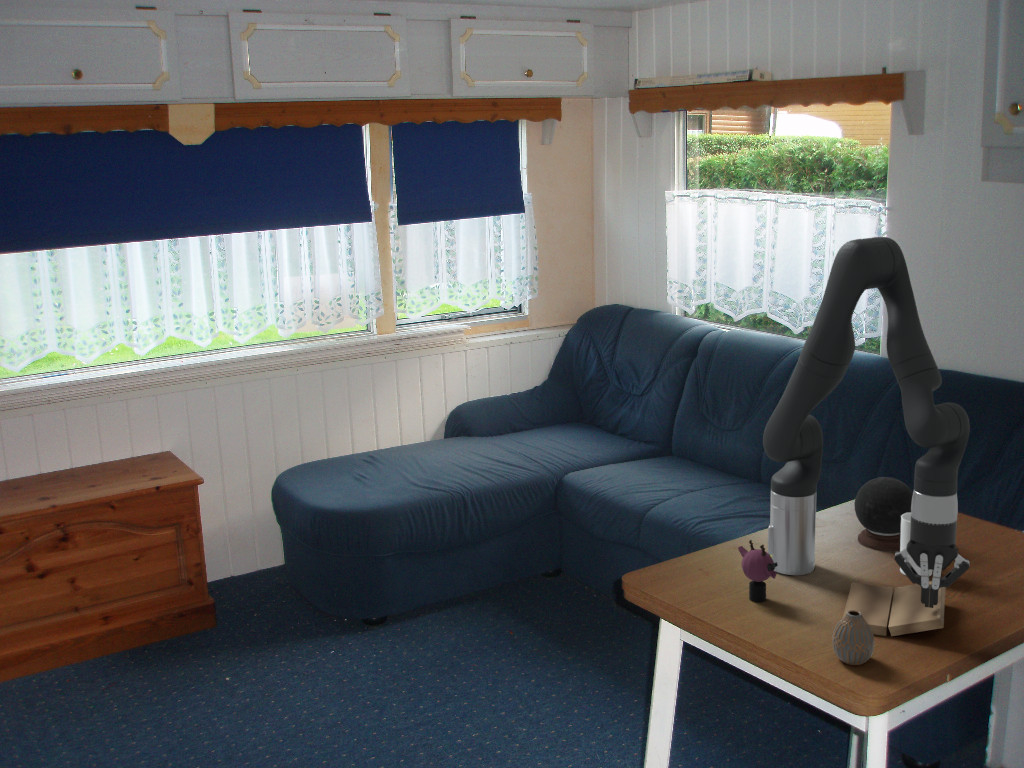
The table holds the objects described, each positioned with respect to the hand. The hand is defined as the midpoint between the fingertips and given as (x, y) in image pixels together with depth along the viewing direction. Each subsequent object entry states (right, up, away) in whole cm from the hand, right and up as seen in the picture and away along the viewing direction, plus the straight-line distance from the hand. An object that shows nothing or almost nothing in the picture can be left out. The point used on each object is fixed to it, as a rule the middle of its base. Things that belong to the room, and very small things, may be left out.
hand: (929, 605), depth 179 cm
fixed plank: (-7, -4, +10) cm, 13 cm away
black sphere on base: (+8, +4, +44) cm, 45 cm away
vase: (-16, -8, -7) cm, 19 cm away
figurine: (-27, -3, +18) cm, 32 cm away
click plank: (+1, -3, +6) cm, 7 cm away
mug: (+10, +1, +28) cm, 30 cm away
